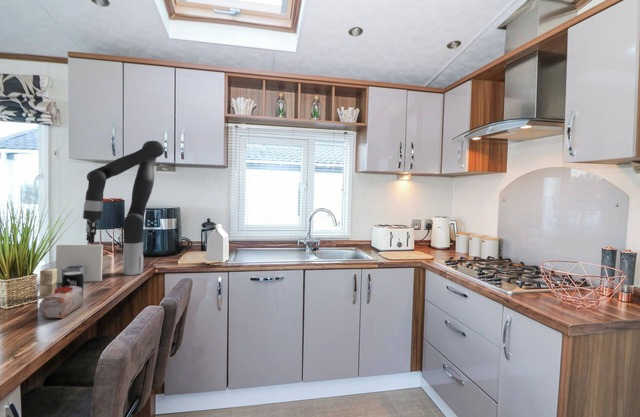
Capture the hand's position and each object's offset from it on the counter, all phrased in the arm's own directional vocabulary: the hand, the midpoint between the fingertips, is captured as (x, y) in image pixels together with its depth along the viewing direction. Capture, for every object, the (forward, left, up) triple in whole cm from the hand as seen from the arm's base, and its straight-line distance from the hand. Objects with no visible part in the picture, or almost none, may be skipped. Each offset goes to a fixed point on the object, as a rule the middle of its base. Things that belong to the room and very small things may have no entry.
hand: (90, 241), depth 149 cm
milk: (-63, -28, -19) cm, 71 cm away
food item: (-6, +47, -20) cm, 51 cm away
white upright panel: (+3, +8, -19) cm, 21 cm away
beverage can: (-5, +35, -19) cm, 40 cm away
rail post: (+7, +24, -19) cm, 32 cm away
